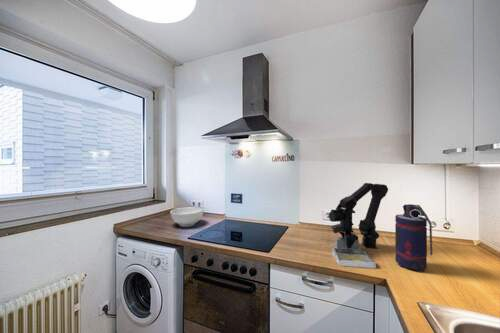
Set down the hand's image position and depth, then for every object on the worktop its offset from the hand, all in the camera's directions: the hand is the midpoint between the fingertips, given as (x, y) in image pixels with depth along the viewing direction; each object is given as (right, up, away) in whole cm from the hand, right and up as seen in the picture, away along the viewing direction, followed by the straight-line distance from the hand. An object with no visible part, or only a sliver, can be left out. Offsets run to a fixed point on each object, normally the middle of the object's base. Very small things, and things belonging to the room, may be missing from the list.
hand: (346, 246), depth 116 cm
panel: (0, -1, 0) cm, 1 cm away
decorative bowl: (-110, -1, +48) cm, 120 cm away
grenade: (+22, -1, -21) cm, 30 cm away
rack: (-4, -1, -14) cm, 14 cm away
